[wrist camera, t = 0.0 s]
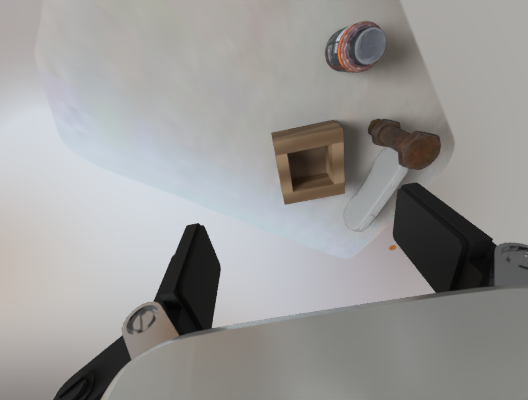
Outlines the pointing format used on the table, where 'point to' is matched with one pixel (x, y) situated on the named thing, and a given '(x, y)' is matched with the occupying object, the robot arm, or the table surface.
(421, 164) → the bolt
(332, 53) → the supplement bottle
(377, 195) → the game controller
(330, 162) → the socket block
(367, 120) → the table surface
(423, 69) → the table surface
